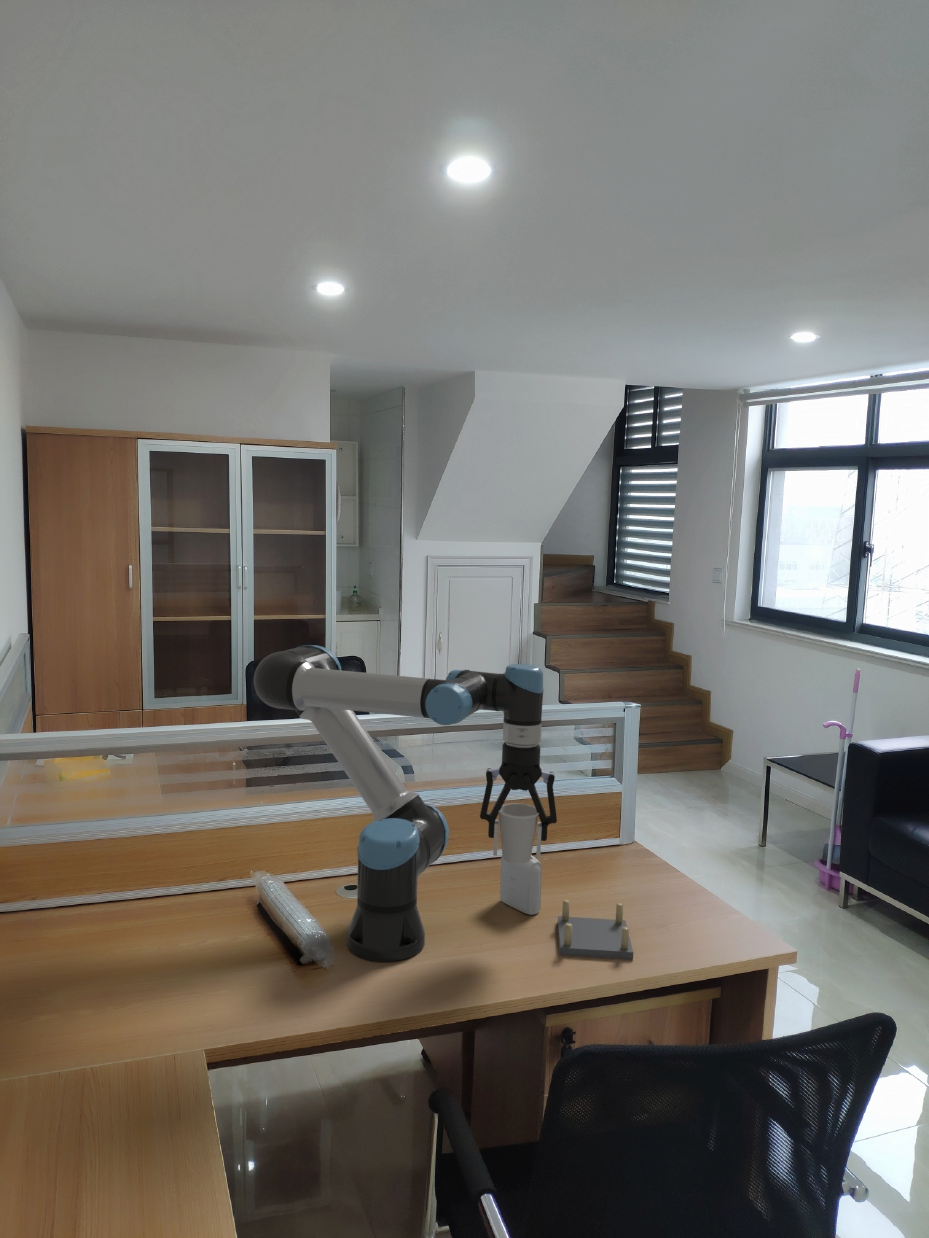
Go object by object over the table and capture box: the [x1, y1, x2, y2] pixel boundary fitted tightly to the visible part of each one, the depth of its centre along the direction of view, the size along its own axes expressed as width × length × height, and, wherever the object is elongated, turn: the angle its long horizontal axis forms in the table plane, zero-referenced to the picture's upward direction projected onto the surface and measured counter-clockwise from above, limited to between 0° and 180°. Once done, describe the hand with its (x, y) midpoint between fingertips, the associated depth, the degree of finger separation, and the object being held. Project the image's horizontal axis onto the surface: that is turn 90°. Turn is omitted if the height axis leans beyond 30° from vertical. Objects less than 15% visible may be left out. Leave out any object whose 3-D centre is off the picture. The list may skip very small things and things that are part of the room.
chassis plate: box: [557, 899, 634, 961], centre depth 177 cm, size 14×14×6 cm
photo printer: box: [499, 854, 543, 916], centre depth 191 cm, size 10×4×12 cm, turn 39°
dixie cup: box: [498, 802, 539, 863], centre depth 176 cm, size 8×8×10 cm
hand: (516, 854), depth 176 cm, fingers closed on dixie cup, 8 cm apart
